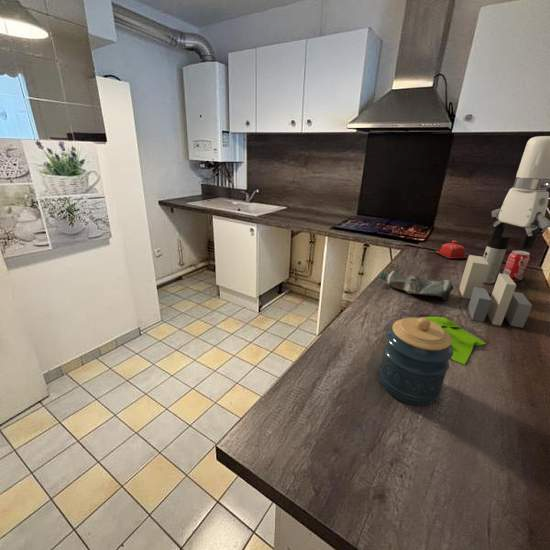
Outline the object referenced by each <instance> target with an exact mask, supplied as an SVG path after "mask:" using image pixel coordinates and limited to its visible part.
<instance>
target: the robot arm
mask: <svg viewBox="0 0 550 550" xmlns="http://www.w3.org/2000/svg"><path fill="white" fill-rule="evenodd" d="M548 189H550V135H538V136H533V137H531V138H529V139H528V141H526V145H525V148H524V152H523V154H522V157H521V159H520V163H519V166H518V169H517V172H516V176H515V179H514V181H513V184H512V187H511V188H510V189H509V190H508V192H507V193H506V196H505V198H504V200H503V202H502V204H501V207H499V208H496V209H494V210H492V211H491V217H492V218H491V221H492V223H493V224H492V226H493V231H492V233H493V234H492V233H491V234H492V237H491V239H492V240H498V239H501V237H502V234H504V231H505V225H512V226H516V227H520V228H524V229H525V232H526V235H524V236H523V238H522V241H521V244H520V246H519V247H520V249H521V250H531V249H532V247H533V245H534V243H535V240H536V237H538V236H540V235H541V234H543V233H544V232H546V230H547V229H549V228H550V219H548V218H547V217H546V212H547V208H548V204H549V200H550V199H549V198H550V192H549V191H547V190H548Z"/></svg>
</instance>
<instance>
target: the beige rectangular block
mask: <svg viewBox="0 0 550 550" xmlns="http://www.w3.org/2000/svg"><path fill="white" fill-rule="evenodd" d="M488 267H489V264H488V262H487V261H486V259H485V258H484V257H483V256H479V255H471V254H469V255H468V257H467V260H466V264H465V267H464V271H463V274H462V277H461V281H460V284H459V287H458V289H459V292H460V295H461V298H462V299H466V300H467V299H468V300H470V299H471V295H472V292H473V289H474V287H478V288H483V285H484V283H483V282H484V279H485V276H486V273H487V270H488Z"/></svg>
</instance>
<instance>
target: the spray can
mask: <svg viewBox="0 0 550 550" xmlns="http://www.w3.org/2000/svg"><path fill="white" fill-rule="evenodd" d="M492 234H493V232H492V233H490V235H489V238H488V241H487V244H486V247H485V250H484V253H483V256H482V257H484V258H485V259H486V261H487V262H488V264H489V267H488V270H487V273H486V276H485V279H484V282H483V284H487V285H490V284H491V285H492V284H494V283H496V281H497V278H498V275H499V273H500V269H501V266H502V263H503V261H504V258H505V255H506V252H507V250H508V247H509V244H510V241H511V238H512V236H511V235H508V234H505V233H503V234H502V237H501V239H498V240H492V239H491V237H492Z"/></svg>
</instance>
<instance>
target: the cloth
mask: <svg viewBox="0 0 550 550" xmlns="http://www.w3.org/2000/svg"><path fill="white" fill-rule="evenodd" d="M424 317H425V318H427V319H429V321H432V322H434V323H436V324H437V325H439V326H440V327H441V328H442V329H444V330H445V331H446V332H447V333H448V334H449V335H450V337H451V340H452V342H451V346H452V348H453V356H452V357H451V358H450V359H449V360H452V361H454V362H456V363H459V364H461V365H463V366H465V365H466V363H467V361H468V359H469V357H470V356H471V353H472V351H473V348H474V347H479V346H484V345H487V343H486V342H485V341H484V340H482V339H480V338H478V337H477V336H475V335H474V334H472V333H470V332H468V331H466V330H465V329H463V328H462V327H460V325H458V323H456V322H454V321H453V320H451V319H449V318H447V317H444V316H424Z"/></svg>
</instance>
